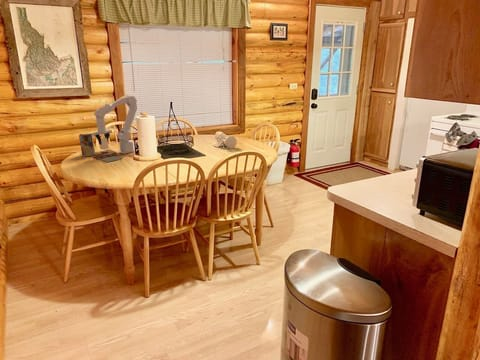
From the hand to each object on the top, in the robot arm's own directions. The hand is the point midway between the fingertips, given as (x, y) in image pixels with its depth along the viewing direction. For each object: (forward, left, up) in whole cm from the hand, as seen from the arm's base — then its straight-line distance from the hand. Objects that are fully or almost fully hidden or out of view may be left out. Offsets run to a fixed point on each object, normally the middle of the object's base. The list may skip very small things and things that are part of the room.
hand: (103, 143), depth 276 cm
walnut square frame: (0, 0, -9) cm, 9 cm away
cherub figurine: (-82, +42, -10) cm, 93 cm away
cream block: (0, 0, -4) cm, 4 cm away
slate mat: (+1, +13, -9) cm, 16 cm away
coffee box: (+8, -11, -10) cm, 17 cm away
